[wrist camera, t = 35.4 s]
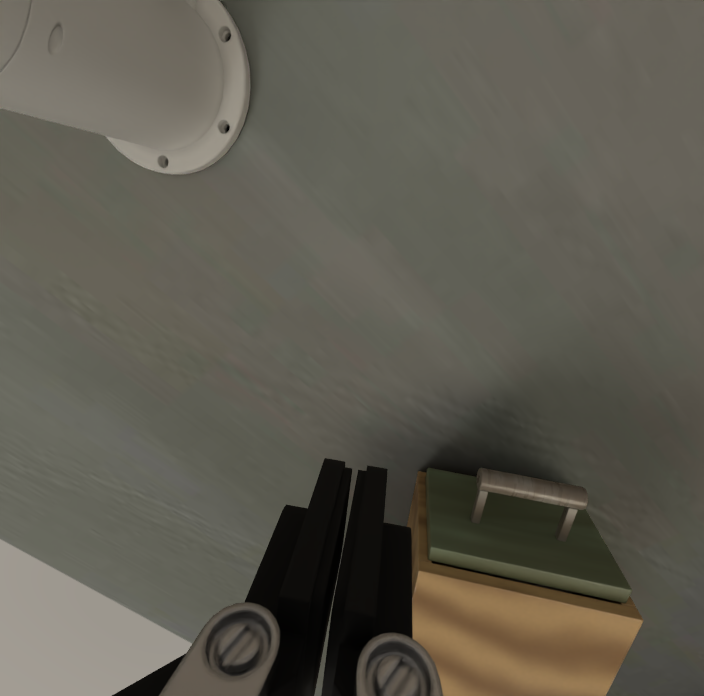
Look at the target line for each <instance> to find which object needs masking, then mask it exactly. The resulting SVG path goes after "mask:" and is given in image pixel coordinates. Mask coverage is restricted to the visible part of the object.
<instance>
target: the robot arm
mask: <svg viewBox="0 0 704 696" xmlns="http://www.w3.org/2000/svg"><path fill="white" fill-rule="evenodd" d="M229 36H231V38H230V40H229V41H228V37H229ZM250 90H251V84H250V67H249V62H248V57H247V52H246V48H245V45H244V43H243V40H242V37H241V35H240V32H239V29H238V27H237V26H236V24H235V22H234V20H233V19H232V17H231V15H230V13H229V12H228V10H227V9H226V8H225V7H224V6H223V4H222V3H221V2H220V1H219V0H0V108H1V109H5V110H9V111H13V112H17V113H21V114H24V115H28V116H32V117H36V118H40V119H43V120H47V121H51V122H55V123H59V124H63V125H66V126H70V127H74V128H78V129H82V130H85V131H89V132H93V133H97V134H101V135H105V136H106V138H107V139H108V140H109V141H110V142H111V143H112V144H113V145H114V146H115V148H116V149H117V150H118V151H119V152H121V153H122V154H123V155H124V156H126V157H127V158H128V159H130V160H131V161H132V162H134V163H136V164H138V165H140V166H142V167H144V168H146V169H149V170H153V171H156V172H160V173H166V174H173V175H179V174H190V173H194V172H198V171H201V170H203V169H205V168H207V167H209V166H211V165H213V164H214V163H216V162H217V161H218V160H219V159H220V158H221V157H223V156H224V155H225V154H226V153H227V152H228V150H229V149H230V148H231V146H232V145H233V144H234V142H235V141H236V139H237V137H238V135H239V133H240V131H241V129H242V127H243V125H244V122H245V118H246V115H247V111H248V108H249V99H250ZM228 126H230V129H229V131H228V132H227V127H228ZM168 162H169V163H168ZM351 475H352V469H351V468H345V462H343V461H338V460H332V459H326V458H325V459H324V462H323V465H322V468H321V471H320V474H319V477H318V480H317V483H316V486H315V489H314V492H313V495H312V498H311V501H310V504H309V507H308V509H307V508H301V507H296V506H290V505H286V506H285V507H284V509H283V511H282V513H281V516H280V518H279V521H278V523H277V525H276V528H275V530H274V533H273V535H272V537H271V540H270V542H269V545H268V547H267V550H266V552H265V554H264V557H263V559H262V562H261V564H260V566H259V569H258V571H257V574H256V576H255V578H254V581H253V583H252V586H251V588H250V590H249V593H248V595H247V598H246V600H245V603H236V604H233V605H231V606H228V607H225V608H223V609H222V610H221V611H219V612H218V613H216V614H215V615H214V616H212V618H211V619H210V620H209V621H208V622H207V624H206V625H205V626H204V627H203V629H202V630H201V632H200V633H199V635H198V636H197V638H196V639H195V641H194V643H193V644H192V646H191V647H190V649H189V650H188V652H187V653H186V654H184V655H183V656H181V657H179V658H177V659H176V660H174V661H172V662H170V663H169V664H167V665H165V666H163V667H162V668H160V669H158V670H156V671H155V672H153V673H151V674H149V675H148V676H146V677H144V678H142V679H141V680H139V681H137V682H135V683H134V684H132V685H130V686H128V687H126V688H125V689H123V690H121V691H119V692H118V693H116V694H114V695H112V696H314V694H315V688H316V683H317V678H318V673H319V668H320V663H321V657H322V652H323V647H324V642H325V637H326V632H327V626H328V621H329V616H330V611H331V606H332V600H333V595H334V590H335V585H336V580H337V575H338V580H337V585H336V590H335V596H334V602H333V608H332V615H331V622H330V631H329V639H328V647H327V655H326V663H325V671H324V679H323V688H322V696H443V692H442V687H441V682H440V677H439V674H438V671H437V668H436V665H435V662H434V661H433V659H432V658H431V656H430V655H429V653H428V651H427V650H426V649H425V648H424V647H423V646H421V645H420V644H419V643H418V642H417V641H416V640H414V639H413V627H412V534H411V528H410V527H405V526H399V525H394V524H388V523H383V521H384V509H385V496H386V483H387V469H384V468H379V467H373V466H367V471H362V470H358V475H357V480H356V485H355V490H354V496H353V501H352V506H351V511H350V517H349V522H348V527H347V532H346V538H345V543H344V548H343V553H342V546H343V538H344V530H345V523H346V515H347V507H348V499H349V491H350V483H351ZM341 553H342V559H341ZM340 559H341V564H340ZM339 564H340V569H339ZM338 569H339V574H338Z"/></svg>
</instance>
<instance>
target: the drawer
mask: <svg viewBox="0 0 704 696" xmlns="http://www.w3.org/2000/svg"><path fill="white" fill-rule="evenodd" d="M425 485H426V517H427V549H428V560H430V561H432V563H435V564H439V565H444V566H448V567H453V568H457V569H462V570H466V571H471V572H474V570H475V571H480V572H484V573H489V574H493V575H498V576H503V577H507V578H512V579H516V580H521V581H525V582H530V583H534V584H539V585H544V586H548V587H553V588H557V589H562V590H566V591H571V592H572V594H576V595H580V596H585V597H589V598H594V599H597V598H596V597H598V598H603V599H607V600H612V601H617V602H621V603H626V602H627V600H628V598H629V596H630V594H631V592H632V589H631V587H630V586H629V584H628V582H627V580H626V579H625V577H624V575H623V573H622V572H621V570H620V568H619V567H618V565H617V563H616V561H615V560H614V558H613V556H612V554H611V553H610V551H609V549H608V547H607V546H606V544H605V542H604V541H603V539H602V537H601V535H600V534H599V532H598V530H597V528H596V527H595V525H594V523H593V521H592V520H591V518H590V516H589V514H588V513H587V511H586V509H585V508H586V506H587V503H588V495H587V491H586V489H585V488H583V487H580V486H574V485H569V484H564V483H559V482H554V481H548V480H543V479H538V478H533V477H527V476H522V475H517V474H512V473H507V472H501V471H496V470H491V469H486V468H479V470H478V473H477V477H474V476H469V475H464V474H458V473H453V472H448V471H443V470H438V469H433V468H427V473H426V477H425Z"/></svg>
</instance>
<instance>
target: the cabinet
mask: <svg viewBox="0 0 704 696" xmlns="http://www.w3.org/2000/svg"><path fill="white" fill-rule="evenodd" d="M425 477H426V472H421V471H418V475H417V480H416V484H415V489H414V494H413V499H412V504H411V508H410V513H409V518H408V523H407V527H410V528H411V534H412V627H413V639H414V640H416V641H417V642H418V643H419V644H420V645H421V646H423V647H424V648H425V649H426V650H427V651H428V653H429V655H430V656H431V658H432V659H433V661H434V662H435V665H436V668H437V671H438V674H439V677H440V682H441V687H442V692H443V696H606V694H607V692H608V690H609V688H610V686H611V684H612V682H613V680H614V678H615V676H616V674H617V672H618V670H619V668H620V666H621V664H622V662H623V660H624V658H625V656H626V654H627V652H628V651H629V649H630V647H631V645H632V643H633V641H634V639H635V637H636V635H637V633H638V631H639V629H640V627H641V625H642V623H643V619H642V617H641V615H640V613H639V612H638V610H637V608H636V606H635V604H634V603H633V601H632V599H631V597H630V596H629V598H628V600H627V602H626V603H621V602H617V601H612V600H607V599H603V598H598V597H596V598H597V599H594V598H589V597H585V596H580V595H576V594H571V593H566V592H562V591H557V590H553V589H548V588H544V587H539V586H535V585H530V584H526V583H521V582H516V581H512V580H507V579H503V578H498V577H494V576H489V575H485V574H480V573H476V572H471V571H466V570H462V569H457V568H453V567H448V566H444V565H439V564H435V563H432V561H430V560H428V549H427V517H426V485H425Z"/></svg>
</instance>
